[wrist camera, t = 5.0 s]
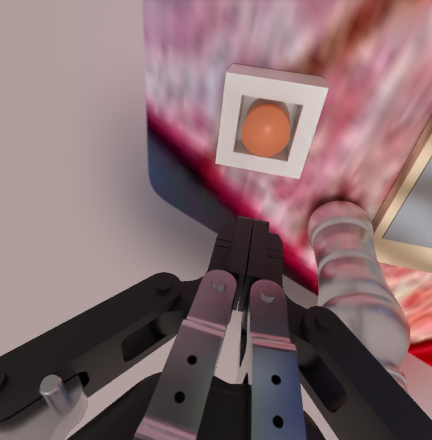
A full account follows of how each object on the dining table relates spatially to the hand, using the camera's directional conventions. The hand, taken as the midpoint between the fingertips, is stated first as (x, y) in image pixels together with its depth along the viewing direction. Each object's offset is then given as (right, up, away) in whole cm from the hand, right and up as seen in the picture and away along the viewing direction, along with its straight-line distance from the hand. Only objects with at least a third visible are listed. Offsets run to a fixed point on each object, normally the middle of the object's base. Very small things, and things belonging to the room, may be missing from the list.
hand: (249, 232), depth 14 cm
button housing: (+3, +11, +14) cm, 18 cm away
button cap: (+3, +10, +14) cm, 17 cm away
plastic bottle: (+12, +1, +20) cm, 23 cm away
